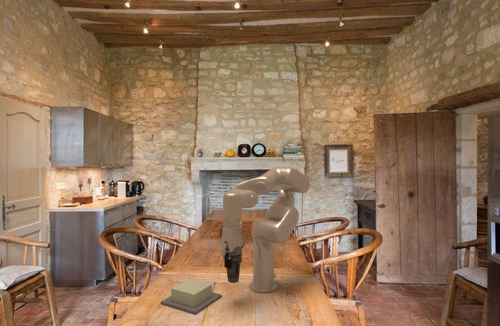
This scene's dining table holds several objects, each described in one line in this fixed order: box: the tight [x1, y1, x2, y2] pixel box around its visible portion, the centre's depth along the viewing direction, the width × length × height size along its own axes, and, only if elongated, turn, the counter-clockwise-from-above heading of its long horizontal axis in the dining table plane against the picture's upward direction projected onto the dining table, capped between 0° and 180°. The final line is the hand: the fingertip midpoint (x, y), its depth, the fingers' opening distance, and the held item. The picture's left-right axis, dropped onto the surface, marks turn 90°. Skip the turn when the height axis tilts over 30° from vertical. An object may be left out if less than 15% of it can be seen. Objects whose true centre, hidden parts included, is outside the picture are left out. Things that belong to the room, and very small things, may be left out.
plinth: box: [160, 278, 223, 315], centre depth 137 cm, size 18×18×6 cm
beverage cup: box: [226, 246, 243, 284], centre depth 134 cm, size 7×7×20 cm
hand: (233, 264), depth 135 cm, fingers closed on beverage cup, 6 cm apart
